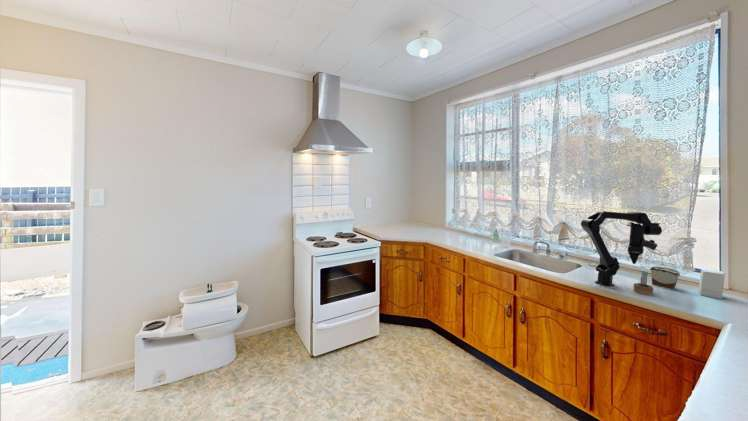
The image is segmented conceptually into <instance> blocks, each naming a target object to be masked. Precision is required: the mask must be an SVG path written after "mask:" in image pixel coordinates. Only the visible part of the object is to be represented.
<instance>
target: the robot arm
mask: <svg viewBox="0 0 748 421" xmlns="http://www.w3.org/2000/svg"><path fill="white" fill-rule="evenodd" d="M607 219H613V220H625V221H628V222H629V223H627V224H626V226H627V227H630V232H629V239H628V240H629V242H628V246H627V253H628V255H629V257H630V260H631V263H632V264H633V265H636V264H637V262H638V258H639V257H640V256H641V255H642V254H643V253H644V247H646V248H647V249H650V250H652V251H655V250H656V248H658V243H656V242H655V240H653V239H649V240H646V239H645V235H646V236H660V235H662V233H663V230H662V227H661V225H660V223H658V222H652V221H651V219H650V218H649V216H648V214H647V213H646V212H641V211H640V212H639V211H628V212H618V211H617V212H615V211H605V210H599V211H597V212H595V213H593V214H592V215H589V216H588V217H586V218H584V219H582V220H581V222H580V226H581V227H582V229H583V230H584V232H586V233H587V234H588V236H589V237H590V239H591V241H592V243H593V245H594V247H595V249H596V251H597V254H598V256H599V259H598V260H599V264H598V265H597V266H595V270H596V272H597V280H595V281H594V283H597V284H600V285H603V286H615V283H613V280H614V279H613V278H614V276H616V274H617V272H618V271H619V269H620V262H619V260H618V258H617V257H615V256H612V255H611V254H610V252H609V250H608V247H607V246H606V244H605V241H604V240H603V237H602V235H601V234H600V231H601V227H600V226H601V225H602V224H603V223H604V222H605V220H607Z"/></svg>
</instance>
